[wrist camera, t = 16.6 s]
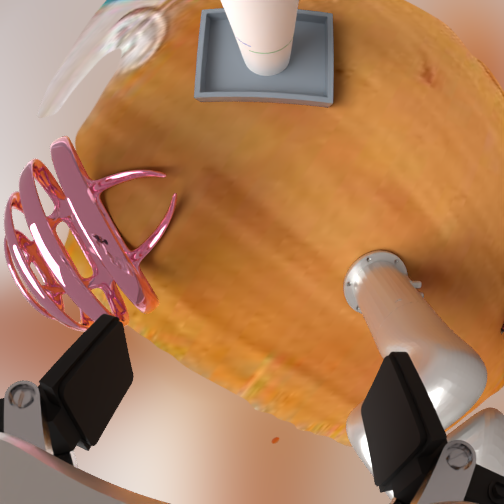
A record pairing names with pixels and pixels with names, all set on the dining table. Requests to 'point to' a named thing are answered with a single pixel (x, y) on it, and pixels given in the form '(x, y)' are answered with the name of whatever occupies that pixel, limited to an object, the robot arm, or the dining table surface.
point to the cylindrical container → (263, 32)
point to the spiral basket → (87, 235)
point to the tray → (266, 87)
